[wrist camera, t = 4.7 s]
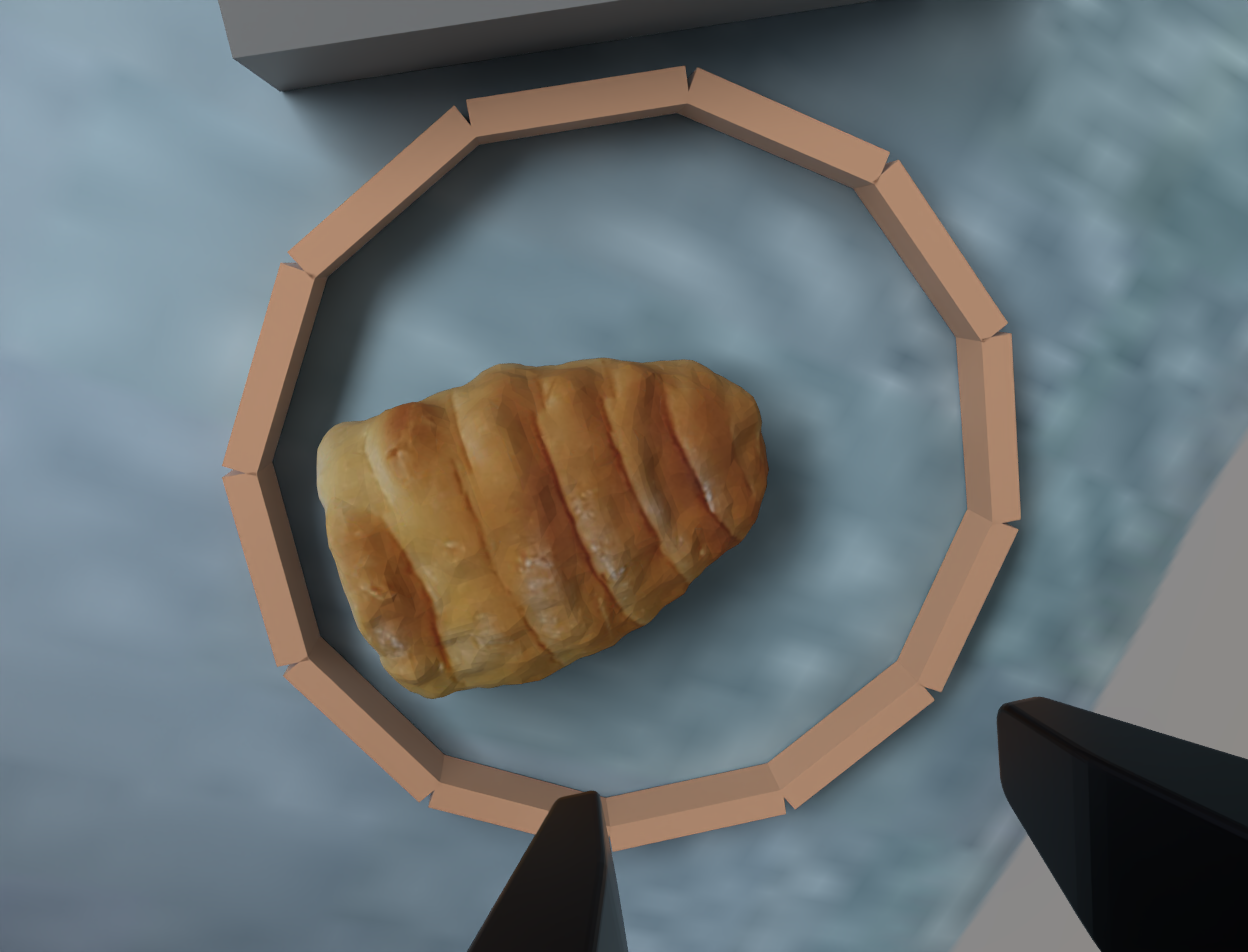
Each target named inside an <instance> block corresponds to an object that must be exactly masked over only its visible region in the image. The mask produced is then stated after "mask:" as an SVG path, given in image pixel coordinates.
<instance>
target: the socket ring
mask: <svg viewBox="0 0 1248 952" xmlns="http://www.w3.org/2000/svg"><path fill="white" fill-rule="evenodd" d="M466 103H467V108H468V113H469V118H470V123H471V125H470V124H469V123H468V122H467V120H466V119H465V118H464V117H463V116H462V114H461V113H460V112H459V111H458V109H457V108H456V107H455V106H453V107H452V108H451V109H449V110H448V111H447V112H446V113H445V114H444V115H443V116H441V117H440V118H439V119H438V120H437V121H436V122H435V123H434V124H432V125H431V126H430V127H429V128H428V129H427V130H426V131H424V132H423V133H422V134H421V135H420V136H419V137H418V138H416V139H415V140H414V141H413V142H412V143H411V144H410V145H409V146H407V147H406V148H405V149H404V150H403V151H402V152H401V153H399V154H398V155H397V156H396V157H395V158H394V159H393V160H392V161H390V162H389V163H388V164H387V165H386V166H385V167H384V168H382V169H381V170H380V171H379V172H378V173H377V174H376V175H374V176H373V177H372V178H371V179H370V180H369V181H368V182H367V183H365V184H364V185H363V186H362V187H361V188H360V189H359V190H357V191H356V192H355V193H354V194H353V195H352V196H351V197H349V198H348V199H347V200H346V201H345V202H344V203H343V204H342V205H340V206H339V207H338V208H337V209H336V210H335V211H334V212H332V213H331V214H330V215H329V216H328V217H327V218H326V219H324V220H323V221H322V222H321V223H320V224H319V225H318V226H317V227H315V228H314V229H313V230H312V231H311V232H310V233H309V234H307V235H306V236H305V237H304V238H303V239H302V240H301V241H299V242H298V243H297V244H296V245H295V246H294V247H293V248H292V249H290V250H289V251H288V253H289V255H290V256H291V257H292V258H293V259H294V260H295V261H296V262H297V263H280V267H279V270H278V274H277V277H276V281H275V284H274V288H273V291H272V295H271V298H270V302H269V305H268V308H267V312H266V315H265V319H264V322H263V326H262V329H261V333H260V336H259V340H258V343H257V347H256V350H255V353H254V357H253V360H252V364H251V367H250V371H249V374H248V378H247V381H246V385H245V388H244V392H243V395H242V399H241V402H240V405H239V409H238V412H237V416H236V419H235V423H234V426H233V430H232V433H231V437H230V440H229V444H228V447H227V451H226V454H225V457H224V461H223V464H222V466H224V467H227V468H231V469H233V470H232V471H231V472H229V473H228V474H226V475H225V476H224V477H222V479H223V482H224V486H225V489H226V493H227V496H228V500H229V503H230V507H231V510H232V513H233V517H234V520H235V524H236V527H237V531H238V534H239V538H240V541H241V544H242V548H243V551H244V555H245V558H246V562H247V565H248V568H249V572H250V575H251V579H252V582H253V586H254V589H255V593H256V596H257V599H258V603H259V606H260V610H261V613H262V617H263V620H264V623H265V627H266V630H267V634H268V637H269V641H270V644H271V648H272V651H273V654H274V658H275V661H276V665H277V667H278V666H283V665H288V664H290V665H289V666H288V668H287V670H286V672H285V673H284V675H283V676H284V677H285V678H286V679H287V680H288V681H289V682H290V683H291V684H292V685H293V686H294V687H295V688H296V689H298V690H299V691H300V692H301V693H302V694H303V695H304V696H305V697H306V698H307V699H308V700H309V701H310V702H312V703H313V704H314V705H315V706H316V707H317V708H318V709H319V710H320V711H321V712H322V713H323V714H324V715H326V716H327V717H328V718H329V719H330V720H331V721H332V722H333V723H334V724H335V725H336V726H337V727H339V728H340V729H341V730H342V731H343V732H344V733H345V734H346V735H347V736H348V737H349V738H350V739H351V740H353V741H354V742H355V743H356V744H357V745H358V746H359V747H360V748H361V749H362V750H363V751H364V752H365V753H367V754H368V755H369V756H370V757H371V758H372V759H373V760H374V761H375V762H376V763H377V764H378V765H379V766H381V767H382V768H383V769H384V770H385V771H386V772H387V773H388V774H389V775H390V776H391V777H392V778H393V779H395V780H396V781H397V782H398V783H399V784H400V785H401V786H402V787H403V788H404V789H405V790H406V791H407V792H409V793H410V794H411V795H412V796H413V797H414V798H415V799H416V800H417V801H418V802H420V801H421V800H423V799H424V798H425V797H426V796H428V795H429V794H430V793H431V795H430V801H429V806H428V807H429V808H433V809H437V810H441V811H445V812H449V813H453V814H457V815H461V816H465V817H469V818H472V819H476V820H480V821H484V822H488V823H492V824H496V825H500V826H504V827H508V828H512V829H516V830H520V831H524V832H527V833H531V834H535V835H536V833H537V831H538V829H539V828H540V826H541V824H542V823H543V821H544V819H545V817H546V816H547V814H548V812H549V811H550V809H551V807H552V805H553V804H554V802H555V801H556V800H557V799H558V798H560V797H563V796H568V795H573V794H578V793H583V792H582V791H578V790H574V789H571V788H567V787H563V786H559V785H556V784H552V783H548V782H544V781H541V780H537V779H533V778H529V777H526V776H522V775H518V774H514V773H511V772H507V771H503V770H499V769H496V768H492V767H488V766H484V765H481V764H477V763H473V762H469V761H466V760H462V759H458V758H454V757H451V756H447V755H444V754H443V753H442V752H441V751H440V750H439V749H438V748H437V747H436V746H435V745H434V744H433V743H431V742H430V741H429V740H428V739H427V738H426V737H425V736H424V735H423V734H422V733H421V732H420V731H419V730H418V729H417V728H416V727H415V726H414V725H413V724H412V723H411V722H410V721H409V720H407V719H406V718H405V717H404V716H403V715H402V714H401V713H400V712H399V711H398V710H397V709H396V708H395V707H394V706H393V705H392V704H391V703H390V702H389V701H388V700H387V699H386V698H385V697H383V696H382V695H381V694H380V693H379V692H378V691H377V690H376V689H375V688H374V687H373V686H372V685H371V684H370V683H369V682H368V681H367V680H366V679H365V678H364V677H363V676H362V675H361V674H359V673H358V672H357V671H356V670H355V669H354V668H353V667H352V666H351V665H350V664H349V663H348V662H347V661H346V660H345V659H344V658H343V657H342V656H341V655H340V654H339V653H338V652H337V651H335V650H334V649H333V648H332V647H331V646H330V645H329V644H328V643H327V642H326V641H325V640H324V639H323V638H322V637H321V636H320V633H319V630H318V626H317V623H316V619H315V615H314V612H313V608H312V604H311V601H310V597H309V593H308V590H307V586H306V582H305V579H304V575H303V572H302V568H301V564H300V561H299V557H298V553H297V550H296V546H295V542H294V539H293V535H292V531H291V528H290V524H289V520H288V517H287V513H286V510H285V506H284V502H283V499H282V495H281V491H280V488H279V484H278V480H277V477H276V473H275V469H274V466H273V462H272V461H273V458H274V454H275V451H276V448H277V444H278V441H279V438H280V434H281V431H282V428H283V424H284V421H285V418H286V414H287V411H288V408H289V404H290V401H291V398H292V394H293V391H294V388H295V384H296V381H297V378H298V374H299V371H300V368H301V364H302V361H303V358H304V354H305V351H306V348H307V344H308V341H309V338H310V334H311V331H312V328H313V324H314V321H315V318H316V314H317V311H318V308H319V304H320V301H321V298H322V294H323V291H324V288H325V284H326V281H327V278H328V276H330V275H331V274H332V273H333V272H334V271H335V270H336V269H338V268H339V267H340V266H341V265H342V264H343V263H344V262H346V261H347V260H348V259H349V258H350V257H351V256H352V255H354V254H355V253H356V252H357V251H358V250H359V249H360V248H362V247H363V246H364V245H365V244H366V243H367V242H368V241H370V240H371V239H372V238H373V237H374V236H375V235H376V234H378V233H379V232H380V231H381V230H382V229H383V228H384V227H386V226H387V225H388V224H389V223H390V222H391V221H392V220H394V219H395V218H396V217H397V216H398V215H399V214H400V213H402V212H403V211H404V210H405V209H406V208H407V207H408V206H410V205H411V204H412V203H413V202H414V201H415V200H416V199H418V198H419V197H420V196H421V195H422V194H423V193H424V192H426V191H427V190H428V189H429V188H430V187H431V186H432V185H434V184H435V183H436V182H437V181H438V180H439V179H441V178H442V177H443V176H444V175H445V174H446V173H447V172H449V171H450V170H451V169H452V168H453V167H454V166H455V165H457V164H458V163H459V162H460V161H461V160H462V159H463V158H465V157H466V156H467V155H468V154H469V153H470V152H471V151H473V150H474V149H475V148H476V147H477V146H478V145H481V144H487V143H493V142H499V141H506V140H512V139H518V138H524V137H531V136H537V135H543V134H550V133H556V132H562V131H568V130H575V129H581V128H587V127H593V126H600V125H606V124H612V123H618V122H625V121H631V120H637V119H643V118H650V117H656V116H662V115H668V114H675V113H678V114H680V115H683V116H685V117H687V118H690V119H692V120H694V121H697V122H699V123H701V124H704V125H706V126H708V127H711V128H713V129H715V130H718V131H720V132H722V133H725V134H727V135H729V136H732V137H734V138H736V139H739V140H741V141H743V142H746V143H748V144H750V145H753V146H755V147H757V148H760V149H762V150H764V151H767V152H769V153H771V154H774V155H776V156H778V157H781V158H783V159H785V160H788V161H790V162H792V163H795V164H797V165H799V166H802V167H804V168H806V169H809V170H811V171H813V172H816V173H818V174H820V175H823V176H825V177H827V178H830V179H832V180H834V181H837V182H839V183H841V184H844V185H846V186H848V187H851V188H853V189H854V190H855V192H856V193H857V195H858V196H859V198H860V199H861V201H862V202H863V203H864V205H865V206H866V208H867V209H868V211H869V212H870V214H871V215H872V216H873V218H874V219H875V221H876V222H877V224H878V225H879V227H880V228H881V229H882V231H883V232H884V234H885V235H886V237H887V238H888V240H889V241H890V242H891V244H892V245H893V247H894V248H895V250H896V251H897V253H898V254H899V256H900V257H901V258H902V260H903V261H904V263H905V264H906V266H907V267H908V269H909V270H910V271H911V273H912V274H913V276H914V277H915V279H916V280H917V282H918V283H919V284H920V286H921V287H922V289H923V290H924V292H925V293H926V295H927V296H928V297H929V299H930V300H931V302H932V303H933V305H934V306H935V308H936V309H937V311H938V312H939V313H940V315H941V316H942V318H943V319H944V321H945V322H946V324H947V325H948V326H949V328H950V329H951V331H952V332H953V334H954V335H955V337H956V346H957V360H958V375H959V390H960V405H961V420H962V435H963V450H964V465H965V480H966V495H967V511H966V513H965V515H964V517H963V519H962V522H961V524H960V526H959V528H958V530H957V532H956V535H955V537H954V539H953V541H952V543H951V545H950V548H949V550H948V552H947V554H946V556H945V558H944V560H943V563H942V565H941V567H940V569H939V571H938V573H937V576H936V578H935V580H934V582H933V584H932V586H931V589H930V591H929V593H928V595H927V597H926V599H925V602H924V604H923V606H922V608H921V610H920V612H919V615H918V617H917V619H916V621H915V623H914V625H913V628H912V630H911V632H910V634H909V636H908V638H907V640H906V643H905V645H904V647H903V649H902V651H901V653H900V656H899V658H898V660H897V661H896V662H895V663H894V664H892V665H891V666H890V667H889V668H887V669H886V670H885V671H884V672H882V673H881V674H880V675H878V676H877V677H876V678H875V679H873V680H872V681H871V682H870V683H868V684H867V685H866V686H865V687H863V688H862V689H861V690H859V691H858V692H857V693H856V694H854V695H853V696H852V697H851V698H849V699H848V700H847V701H846V702H844V703H843V704H842V705H840V706H839V707H838V708H837V709H835V710H834V711H833V712H832V713H830V714H829V715H828V716H827V717H825V718H824V719H823V720H822V721H820V722H819V723H818V724H816V725H815V726H814V727H813V728H811V729H810V730H809V731H808V732H806V733H805V734H804V735H803V736H801V737H800V738H799V739H797V740H796V741H795V742H794V743H792V744H791V745H790V746H789V747H787V748H786V749H785V750H784V751H782V752H781V753H780V754H778V755H777V756H776V757H775V758H773V759H772V760H771V761H770V762H768V763H767V764H762V765H757V766H753V767H748V768H743V769H739V770H734V771H729V772H725V773H720V774H715V775H710V776H706V777H701V778H696V779H692V780H687V781H682V782H678V783H673V784H668V785H664V786H659V787H654V788H650V789H645V790H640V791H636V792H631V793H626V794H622V795H617V796H612V797H608V798H604V797H601V796H600V798H601V802H602V807H603V812H604V817H605V822H606V827H607V832H608V837H609V835H610V840H611V845H612V850H613V852H614V851H618V850H623V849H628V848H632V847H637V846H641V845H646V844H651V843H655V842H660V841H664V840H669V839H673V838H678V837H683V836H687V835H692V834H696V833H701V832H706V831H710V830H715V829H719V828H724V827H728V826H733V825H738V824H742V823H747V822H751V821H756V820H760V819H765V818H770V817H774V816H779V815H783V814H786V811H785V803H784V798H785V799H786V800H787V801H788V802H789V803H790V804H791V806H792V807H793V808H794V809H797V808H798V807H799V806H800V805H802V804H803V803H804V802H805V801H807V800H808V799H809V798H811V797H812V796H813V795H814V794H816V793H817V792H818V791H819V790H821V789H822V788H823V787H825V786H826V785H827V784H828V783H830V782H831V781H832V780H834V779H835V778H836V777H837V776H839V775H840V774H841V773H842V772H844V771H845V770H846V769H848V768H849V767H850V766H851V765H853V764H854V763H855V762H856V761H858V760H859V759H860V758H862V757H863V756H864V755H865V754H867V753H868V752H869V751H871V750H872V749H873V748H874V747H876V746H877V745H878V744H879V743H881V742H882V741H883V740H885V739H886V738H887V737H888V736H890V735H891V734H892V733H893V732H895V731H896V730H897V729H899V728H900V727H901V726H902V725H904V724H905V723H906V722H908V721H909V720H910V719H911V718H913V717H914V716H915V715H916V714H918V713H919V712H920V711H922V710H923V709H924V708H925V707H927V706H928V705H929V704H931V703H932V702H933V701H934V698H933V697H932V696H931V695H930V693H929V692H928V691H927V690H926V689H925V687H926V688H930V689H933V690H936V691H939V692H942V690H943V687H944V685H945V683H946V681H947V679H948V677H949V675H950V673H951V671H952V669H953V666H954V664H955V662H956V660H957V658H958V656H959V654H960V652H961V650H962V648H963V645H964V643H965V641H966V639H967V637H968V635H969V633H970V631H971V629H972V627H973V625H974V622H975V620H976V618H977V616H978V614H979V612H980V610H981V608H982V606H983V604H984V601H985V599H986V597H987V595H988V593H989V591H990V589H991V587H992V585H993V583H994V580H995V578H996V576H997V574H998V572H999V570H1000V568H1001V566H1002V564H1003V562H1004V559H1005V557H1006V555H1007V553H1008V551H1009V549H1010V547H1011V545H1012V543H1013V541H1014V538H1015V536H1016V534H1017V532H1018V530H1019V529H1017V528H1015V527H1013V526H1011V525H1009V524H1007V523H1006V522H1010V521H1015V520H1020V519H1021V511H1020V491H1019V472H1018V452H1017V433H1016V413H1015V393H1014V374H1013V354H1012V335H1011V333H1004V332H998V331H999V330H1000V329H1001V328H1003V327H1004V326H1005V325H1006V324H1008V322H1007V321H1006V319H1005V318H1004V316H1003V315H1002V313H1001V312H1000V310H999V309H998V307H997V306H996V304H995V303H994V301H993V300H992V298H991V297H990V295H989V294H988V292H987V291H986V289H985V288H984V286H983V285H982V283H981V282H980V280H979V279H978V277H977V276H976V274H975V273H974V271H973V270H972V268H971V267H970V265H969V264H968V262H967V261H966V259H965V258H964V256H963V255H962V253H961V252H960V250H959V249H958V247H957V246H956V244H955V243H954V241H953V240H952V238H951V237H950V235H949V234H948V232H947V231H946V229H945V228H944V227H943V225H942V224H941V222H940V221H939V219H938V218H937V216H936V215H935V213H934V212H933V210H932V209H931V207H930V206H929V204H928V203H927V201H926V200H925V198H924V197H923V195H922V194H921V192H920V191H919V189H918V188H917V186H916V185H915V183H914V182H913V180H912V179H911V177H910V176H909V174H908V173H907V171H906V170H905V168H904V167H903V165H902V164H901V162H900V161H899V160H896V161H893V162H889V163H886V161H887V159H888V156H889V154H890V152H888V151H886V150H884V149H882V148H879V147H877V146H875V145H872V144H870V143H868V142H866V141H863V140H861V139H859V138H857V137H854V136H852V135H850V134H848V133H845V132H843V131H841V130H839V129H836V128H834V127H832V126H829V125H827V124H825V123H823V122H820V121H818V120H816V119H814V118H811V117H809V116H807V115H805V114H802V113H800V112H798V111H796V110H793V109H791V108H789V107H786V106H784V105H782V104H780V103H777V102H775V101H773V100H771V99H768V98H766V97H764V96H762V95H759V94H757V93H755V92H752V91H750V90H748V89H746V88H743V87H741V86H739V85H737V84H734V83H732V82H730V81H728V80H725V79H723V78H721V77H719V76H716V75H714V74H712V73H709V72H707V71H705V70H703V69H700V68H698V67H697V68H696V70H695V71H694V72H693V73H692V74H691V75H690V76H689V77H688V78H687V76H686V68H685V66H679V67H672V68H666V69H660V70H653V71H647V72H640V73H634V74H628V75H621V76H615V77H608V78H602V79H595V80H589V81H583V82H576V83H570V84H563V85H557V86H551V87H544V88H538V89H531V90H525V91H519V92H512V93H506V94H499V95H493V96H487V97H480V98H474V99H467V100H466Z"/></svg>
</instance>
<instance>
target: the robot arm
mask: <svg viewBox="0 0 1248 952" xmlns="http://www.w3.org/2000/svg"><path fill="white" fill-rule="evenodd" d="M997 734H998V750H999V767H1000V779H1001V784H1002V788H1003V791H1004V794H1005V796H1006V798H1007V800H1008V802H1009V804H1010V806H1011V807H1012V809H1013V811H1014V812H1015V814H1016V816H1017V817H1018V819H1019V821H1020V822H1021V824H1022V826H1023V827H1024V829H1025V830H1026V832H1027V834H1028V835H1029V837H1030V839H1031V840H1032V842H1033V844H1034V845H1035V847H1036V849H1037V850H1038V852H1039V853H1040V855H1041V857H1042V858H1043V860H1044V862H1045V863H1046V865H1047V867H1048V868H1049V870H1050V871H1051V873H1052V875H1053V876H1054V878H1055V880H1056V882H1057V883H1058V885H1059V886H1060V888H1061V890H1062V891H1063V893H1064V895H1065V896H1066V898H1067V900H1068V901H1069V903H1070V904H1071V906H1072V908H1073V910H1074V911H1075V913H1076V914H1077V916H1078V918H1079V919H1080V921H1081V922H1082V924H1083V925H1084V927H1085V928H1086V930H1087V932H1088V933H1089V935H1090V936H1091V938H1092V939H1093V941H1094V942H1095V944H1096V945H1097V947H1098V948H1099V949H1100V951H1101V952H1248V759H1245V758H1241V757H1238V756H1235V755H1231V754H1228V753H1225V752H1222V751H1218V750H1215V749H1212V748H1208V747H1205V746H1202V745H1199V744H1195V743H1192V742H1189V741H1185V740H1182V739H1179V738H1176V737H1172V736H1169V735H1166V734H1162V733H1159V732H1156V731H1152V730H1149V729H1146V728H1143V727H1140V726H1136V725H1133V724H1130V723H1126V722H1123V721H1120V720H1116V719H1113V718H1110V717H1107V716H1103V715H1100V714H1097V713H1094V712H1090V711H1087V710H1084V709H1081V708H1077V707H1074V706H1071V705H1067V704H1064V703H1061V702H1058V701H1054V700H1051V699H1048V698H1044V697H1032V698H1027V699H1023V700H1018V701H1013V702H1009V703H1005V704H1003V705H1002V706H1001V707H1000V709H999V710H998V714H997ZM467 952H628V947H627V941H626V934H625V928H624V922H623V916H622V910H621V904H620V898H619V892H618V886H617V880H616V874H615V869H614V863H613V858H612V853H611V848H610V843H609V838H608V832H607V827H606V822H605V817H604V812H603V807H602V802H601V798H600V795H599V794H598V793H597V792H596V791H587V792H583V793H578V794H573V795H568V796H563V797H560V798H558V799H557V800H556V801H555V802H554V804H553V805H552V807H551V809H550V811H549V812H548V814H547V816H546V817H545V819H544V821H543V823H542V824H541V826H540V828H539V829H538V831H537V833H536V835H535V836H534V838H533V840H532V841H531V843H530V845H529V846H528V848H527V850H526V852H525V853H524V855H523V857H522V858H521V860H520V862H519V864H518V865H517V867H516V869H515V870H514V872H513V874H512V876H511V877H510V879H509V881H508V882H507V884H506V886H505V888H504V889H503V891H502V893H501V894H500V896H499V898H498V899H497V901H496V903H495V905H494V906H493V908H492V910H491V911H490V913H489V915H488V917H487V918H486V920H485V922H484V923H483V925H482V927H481V929H480V930H479V932H478V934H477V935H476V937H475V939H474V941H473V942H472V944H471V946H470V947H469V949H468V951H467Z"/></svg>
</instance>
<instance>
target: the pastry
mask: <svg viewBox="0 0 1248 952" xmlns="http://www.w3.org/2000/svg"><path fill="white" fill-rule="evenodd" d="M761 425H762V420H761V416H760V411H759V408H758V406H757V403H756V401H755V399H754V398H753V396H751V395H750V394H749V393H748V392H746V391H745V390H744V389H743V388H742V387H740V386H738V385H736V384H734V383H732V382H730V381H729V380H727V379H726V378H724V377H722V376H720V375H717V374H715V373H714V372H712V371H711V370H710V369H708V368H707V367H705V366H703V365H701V364H699V363H697V362H695V361H693V360H672V361H656V362H646V363H638V362H630V361H621V360H615V359H610V358H596V359H585V360H578V361H572V362H568V363H565V364H562V365H556V366H555V365H549V366H541V367H533V366H524V365H521V364H514V363H508V364H498V365H495V366H493V367H491V368H489V369H487V370H485V371H483V372H481V373H480V374H479V375H478V376H477V377H476V378H474V379H473V380H472V381H471V382H469V383H467V384H466V385H464V386H461V387H456V388H452V389H449V390H445V391H442V392H438V393H436V394H434V395H432V396H430V397H427V398H426V399H424V400H422V401H419V402H411V403H407V404H402V405H400V406H397V407H394V408H392V409H388V410H385V411H384V412H383V413H381V414H380V415H378V416H375V417H373V418H370V419H368V420H365V421H351V422H342V423H340V424H337V425H335V426H334V427H332V428H331V429H330V430H329V431H328V432H327V433H326V435H325V436H324V437H323V439H322V441H321V443H320V445H319V447H318V450H317V490H318V495H319V499H320V501H321V503H322V505H323V507H324V508H325V515H326V530H327V538H328V544H329V549H330V550H331V552H332V555H333V557H334V559H335V562H336V566H337V569H338V573H339V577H340V580H341V583H342V587H343V590H344V592H345V594H346V596H347V599H348V601H349V604H350V607H351V610H352V613H353V616H354V619H355V622H356V624H357V627H358V629H359V630H360V632H361V634H362V635H363V637H364V638H365V639H366V640H367V642H368V643H369V644H370V645H371V646H372V647H373V648H374V649H375V650H376V651H377V653H378V654H379V655H380V662H381V663H382V665H383V667H384V668H385V670H386V671H387V672H388V673H389V674H390V675H391V676H392V677H393V678H394V679H395V680H396V681H397V682H398V683H399V684H400V685H402V686H403V687H405V688H406V689H408V690H409V691H411V692H414V693H417V694H420V695H421V696H423V697H425V698H429V699H434V698H435V699H436V698H440V697H444V696H447V695H449V694H451V693H453V692H456V691H461V690H467V689H472V688H477V687H481V688H494V687H498V686H501V685H513V684H523V683H528V682H533V681H538V680H541V679H543V678H545V677H547V676H549V675H551V674H552V673H554V672H556V671H557V670H559V669H561V668H563V667H565V666H567V665H569V664H571V663H572V662H574V661H575V660H577V659H579V658H582V657H585V656H589V655H592V654H595V653H597V652H599V651H601V650H604V649H606V648H609V647H611V646H613V645H615V644H616V643H617V642H618V641H619V640H620V639H621V638H622V637H623V636H625V635H626V634H628V633H629V632H631V631H633V630H636V629H638V628H640V627H642V626H645V625H646V624H647V623H649V622H650V621H651V620H652V619H653V618H654V617H655V616H656V615H657V614H658V613H659V611H660V610H661V609H662V608H663V607H664V606H665V605H667V604H669V603H671V602H672V601H674V600H675V599H677V598H679V597H680V596H682V595H683V594H684V593H685V592H686V590H687V588H688V586H689V585H690V583H691V582H692V581H693V580H694V579H695V578H696V577H698V576H699V575H700V574H701V573H702V572H703V570H704V569H705V568H706V567H707V566H708V565H710V564H711V563H713V562H714V561H715V560H717V559H718V558H719V557H720V556H721V555H723V554H724V553H725V552H726V551H728V550H729V549H731V548H733V547H734V546H736V545H738V544H739V543H740V542H741V541H742V540H743V539H744V538H745V536H746V535H747V533H748V532H749V530H750V529H751V527H752V525H753V524H754V523H755V521H756V519H757V517H758V513H759V509H760V505H761V502H762V499H763V496H764V493H765V490H766V487H767V475H768V471H769V468H768V462H767V457H766V447H765V443H764V440H763V436H762V433H761Z"/></svg>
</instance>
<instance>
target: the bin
mask: <svg viewBox="0 0 1248 952" xmlns="http://www.w3.org/2000/svg"><path fill="white" fill-rule="evenodd" d="M868 1H874V0H218V2H219V6H220V10H221V14H222V18H223V21H224V25H225V29H226V33H227V37H228V41H229V45H230V49H231V53H232V57H233V59H235V60H236V61H238V62H239V63H240V64H242V65H243V66H245V67H246V68H247V69H249V70H250V71H252V72H253V73H254V74H256V75H257V76H259V77H260V78H262V79H263V80H264V81H266V82H267V83H269V84H270V85H271V86H273V87H274V88H276V89H277V90H279V91H287V90H293V89H300V88H306V87H313V86H319V85H326V84H332V83H339V82H346V81H352V80H359V79H365V78H372V77H378V76H385V75H391V74H398V73H404V72H411V71H417V70H424V69H430V68H437V67H443V66H450V65H457V64H463V63H470V62H476V61H483V60H489V59H496V58H502V57H509V56H515V55H522V54H528V53H535V52H541V51H548V50H554V49H561V48H568V47H574V46H581V45H587V44H594V43H600V42H607V41H613V40H620V39H626V38H633V37H639V36H646V35H652V34H659V33H666V32H672V31H679V30H685V29H692V28H698V27H705V26H711V25H718V24H724V23H731V22H737V21H744V20H750V19H757V18H763V17H770V16H777V15H783V14H790V13H796V12H803V11H809V10H816V9H822V8H829V7H835V6H842V5H848V4H855V3H861V2H868Z"/></svg>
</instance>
